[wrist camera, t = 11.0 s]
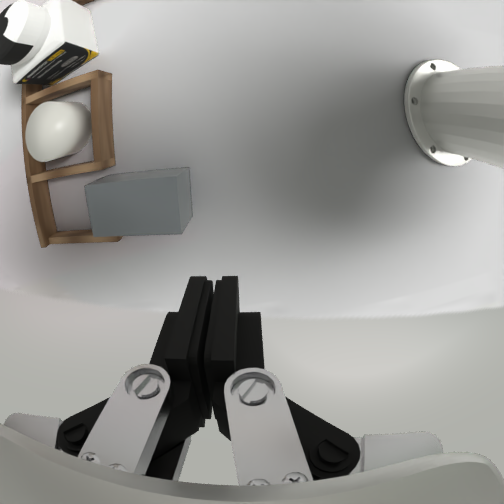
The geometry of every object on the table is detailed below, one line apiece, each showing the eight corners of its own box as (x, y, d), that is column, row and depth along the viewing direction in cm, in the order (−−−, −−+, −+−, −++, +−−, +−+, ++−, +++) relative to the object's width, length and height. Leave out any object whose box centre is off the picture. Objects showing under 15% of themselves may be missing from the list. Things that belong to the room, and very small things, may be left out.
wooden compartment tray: (120, -14, 16) (109, -23, 13) (125, 234, 29) (114, 245, 26) (45, 18, 16) (31, 13, 13) (54, 237, 29) (41, 247, 26)
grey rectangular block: (189, 167, 26) (176, 176, 21) (192, 215, 28) (181, 234, 23) (108, 175, 26) (84, 185, 21) (114, 219, 28) (93, 237, 23)
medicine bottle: (52, 86, 21) (-23, 86, 10) (45, 42, 18) (-23, 30, 7) (100, 54, 20) (28, 32, 9) (91, 9, 17) (28, -22, 6)
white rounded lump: (92, 96, 22) (65, 94, 17) (94, 149, 24) (68, 156, 20) (52, 109, 22) (24, 110, 17) (55, 158, 24) (28, 166, 20)
